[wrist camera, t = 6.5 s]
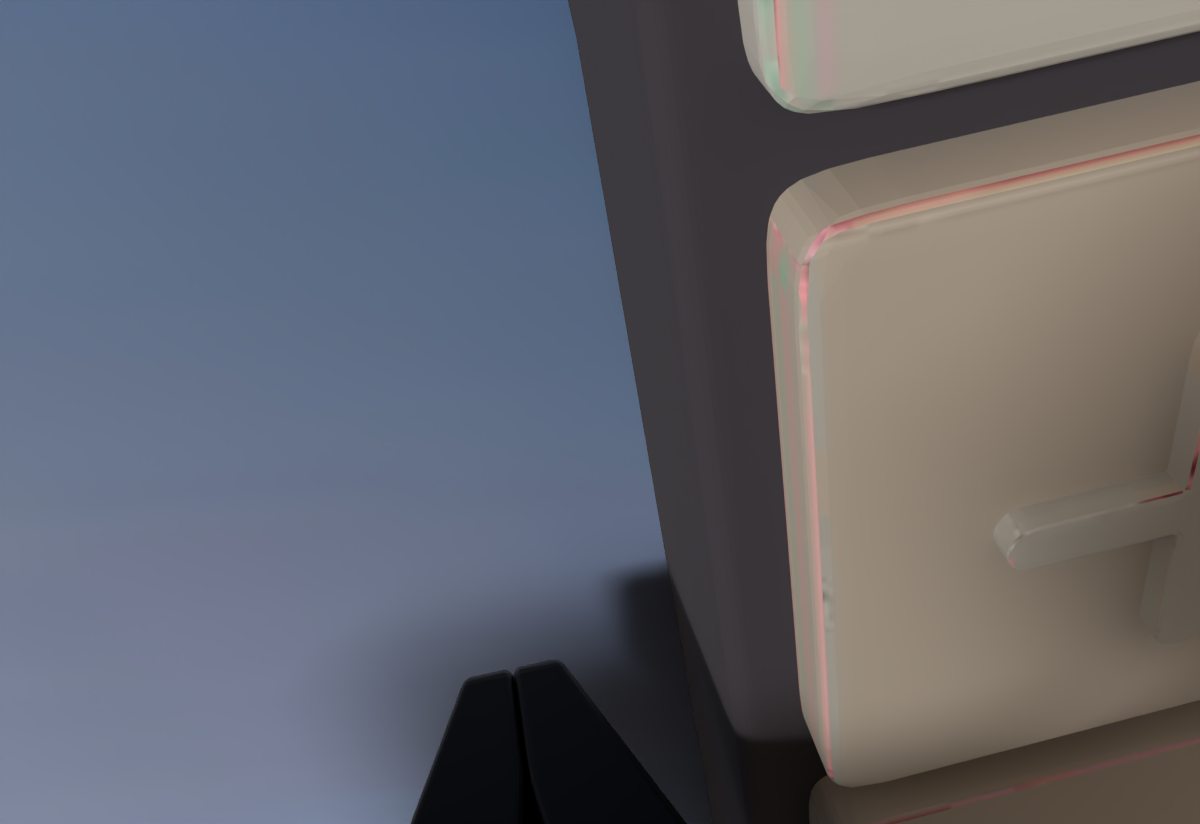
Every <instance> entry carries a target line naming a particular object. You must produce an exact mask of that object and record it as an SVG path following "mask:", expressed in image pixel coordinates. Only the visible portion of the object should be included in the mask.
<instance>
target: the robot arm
mask: <svg viewBox="0 0 1200 824" xmlns="http://www.w3.org/2000/svg"><path fill="white" fill-rule="evenodd" d="M411 824H687V823H686V822H685V821H684V820H683V818H682V817H681V816H680V814H679V813H678V812H677V810H676V809H675V808H674V807H673V805H672V804H671V803H670V801H669V800H668V799H667V797H666V796H665V795H664V794H663V792H662V791H661V790H660V788H659V787H658V786H657V784H656V783H655V782H654V781H653V779H652V778H651V777H650V775H649V774H648V773H647V771H646V770H645V769H644V767H643V766H642V765H641V764H640V762H639V761H638V760H637V758H636V757H635V756H634V754H633V753H632V752H631V751H630V749H629V748H628V747H627V745H626V744H625V743H624V741H623V740H622V739H621V738H620V736H619V735H618V734H617V732H616V731H615V730H614V728H613V727H612V726H611V725H610V723H609V722H608V721H607V719H606V718H605V717H604V715H603V714H602V713H601V712H600V710H599V709H598V708H597V706H596V705H595V704H594V702H593V701H592V700H591V699H590V697H589V696H588V695H587V693H586V692H585V691H584V689H583V688H582V687H581V685H580V684H579V683H578V682H577V680H576V679H575V678H574V676H573V675H572V674H571V672H570V671H569V670H568V669H567V667H566V666H565V665H564V664H563V663H562V662H560V661H558V660H550V661H545V662H540V663H535V664H531V665H526V666H521V667H519V668H518V669H517V670H516V671H515V673H514V677H513V675H512V673H511V672H509V671H507V670H502V671H498V672H493V673H488V674H483V675H479V676H474V677H470V678H468V679H467V680H466V681H465V682H464V683H463V685H462V687H461V689H460V692H459V695H458V697H457V700H456V703H455V706H454V708H453V711H452V714H451V716H450V719H449V722H448V724H447V727H446V730H445V732H444V735H443V738H442V740H441V743H440V746H439V748H438V751H437V754H436V757H435V759H434V762H433V765H432V767H431V770H430V773H429V775H428V778H427V781H426V783H425V786H424V789H423V791H422V794H421V797H420V800H419V802H418V805H417V808H416V810H415V813H414V816H413V818H412V821H411Z"/></svg>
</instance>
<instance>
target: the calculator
mask: <svg viewBox="0 0 1200 824" xmlns="http://www.w3.org/2000/svg"><path fill="white" fill-rule="evenodd" d="M568 2H569V7H570V11H571V16H572V20H573V24H574V29H575V33H576V38H577V43H578V49H579V55H580V60H581V66H582V72H583V78H584V84H585V90H586V95H587V101H588V107H589V113H590V119H591V124H592V130H593V136H594V142H595V148H596V153H597V159H598V165H599V171H600V177H601V183H602V188H603V194H604V200H605V206H606V212H607V217H608V223H609V229H610V235H611V241H612V247H613V252H614V258H615V264H616V270H617V276H618V281H619V287H620V293H621V299H622V305H623V310H624V316H625V322H626V328H627V334H628V340H629V345H630V351H631V357H632V363H633V369H634V374H635V380H636V386H637V392H638V398H639V403H640V409H641V415H642V421H643V427H644V433H645V438H646V444H647V450H648V456H649V462H650V467H651V473H652V479H653V485H654V491H655V496H656V502H657V508H658V514H659V520H660V526H661V531H662V537H663V543H664V549H665V555H666V560H667V566H668V572H669V578H670V583H671V589H672V595H673V600H674V606H675V612H676V618H677V623H678V629H679V635H680V640H681V646H682V652H683V657H684V663H685V669H686V674H687V680H688V686H689V691H690V697H691V703H692V709H693V714H694V720H695V726H696V731H697V737H698V743H699V748H700V754H701V759H702V765H703V771H704V776H705V782H706V787H707V793H708V798H709V804H710V809H711V815H712V820H713V824H1200V0H568Z"/></svg>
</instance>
